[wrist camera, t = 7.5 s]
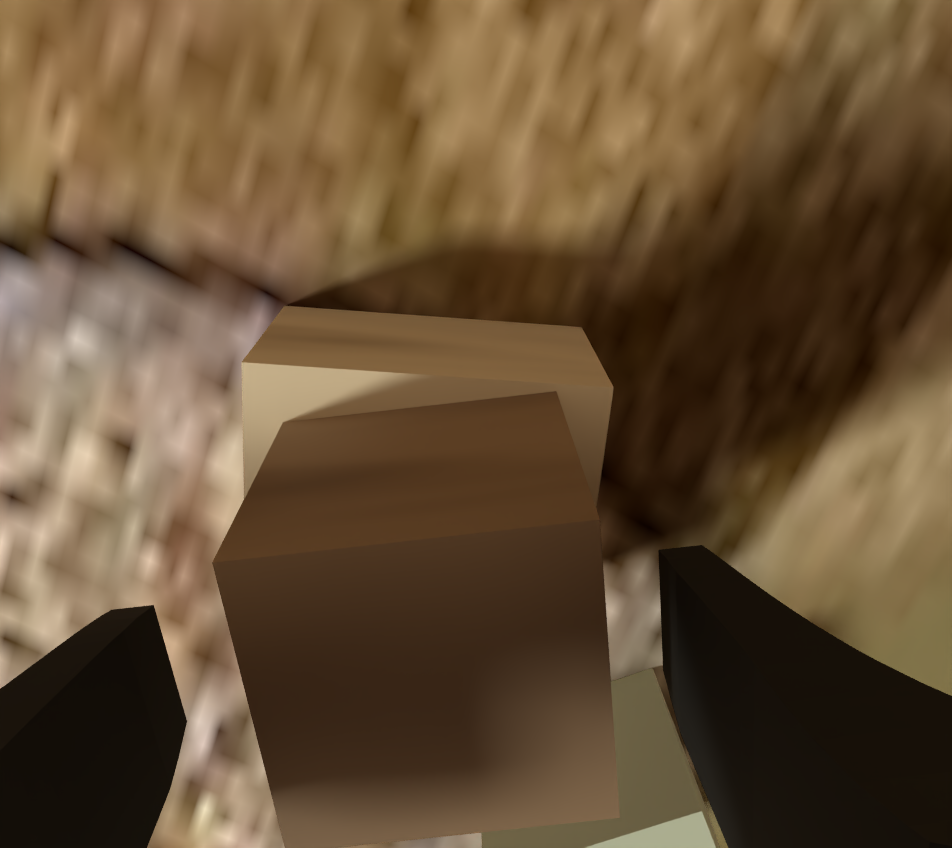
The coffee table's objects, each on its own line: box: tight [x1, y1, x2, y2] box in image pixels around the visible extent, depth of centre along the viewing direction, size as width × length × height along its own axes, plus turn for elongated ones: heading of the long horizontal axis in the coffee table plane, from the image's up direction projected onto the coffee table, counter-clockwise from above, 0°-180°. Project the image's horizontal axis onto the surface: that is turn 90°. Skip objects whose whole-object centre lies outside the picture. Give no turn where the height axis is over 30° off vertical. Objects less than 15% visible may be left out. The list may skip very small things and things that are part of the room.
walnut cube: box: [212, 391, 620, 848], centre depth 13 cm, size 4×4×4 cm
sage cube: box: [481, 668, 720, 848], centre depth 20 cm, size 4×4×4 cm
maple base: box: [242, 306, 614, 507], centre depth 17 cm, size 6×6×4 cm
